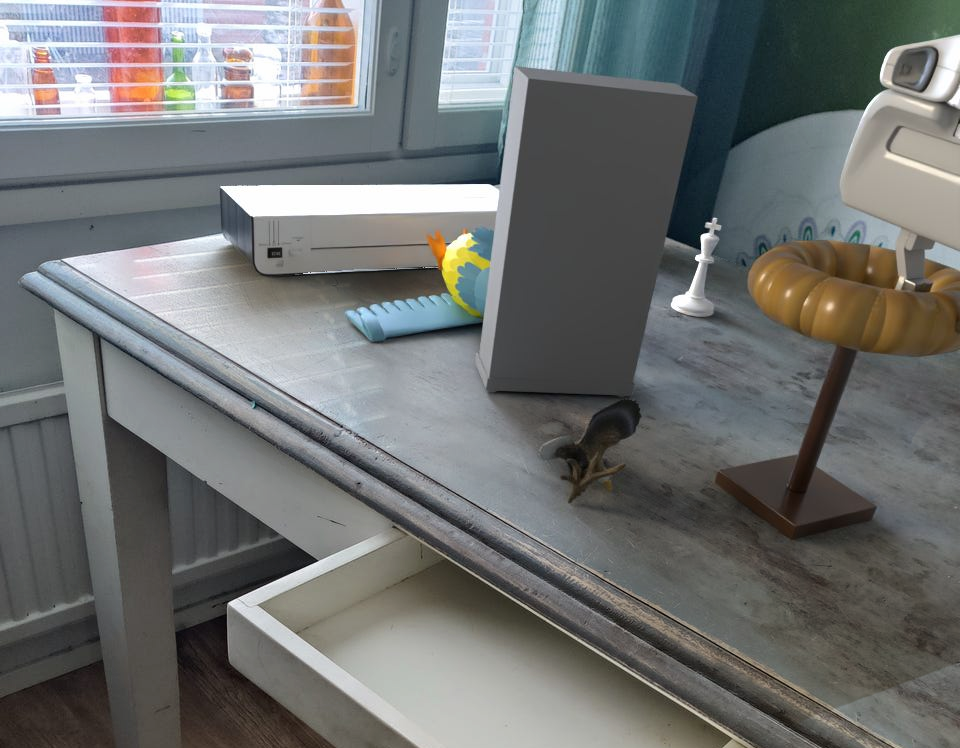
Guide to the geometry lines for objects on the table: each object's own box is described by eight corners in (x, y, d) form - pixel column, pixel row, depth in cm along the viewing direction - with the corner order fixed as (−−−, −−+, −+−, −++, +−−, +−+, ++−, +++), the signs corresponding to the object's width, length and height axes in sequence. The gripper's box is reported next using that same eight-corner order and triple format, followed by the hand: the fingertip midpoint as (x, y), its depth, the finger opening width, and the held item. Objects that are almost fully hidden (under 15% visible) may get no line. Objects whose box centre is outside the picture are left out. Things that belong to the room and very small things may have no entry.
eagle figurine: (646, 507, 73) (659, 437, 79) (609, 431, 69) (625, 362, 75) (554, 531, 77) (573, 462, 83) (514, 460, 73) (536, 392, 79)
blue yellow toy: (560, 204, 109) (648, 252, 99) (547, 282, 114) (628, 334, 105) (329, 215, 95) (406, 272, 86) (326, 304, 100) (398, 366, 91)
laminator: (483, 234, 126) (489, 183, 123) (531, 267, 118) (539, 213, 115) (221, 243, 112) (219, 185, 108) (256, 281, 104) (255, 220, 100)
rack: (793, 466, 84) (855, 288, 75) (872, 519, 78) (950, 333, 69) (713, 482, 80) (769, 296, 71) (791, 539, 74) (863, 345, 65)
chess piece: (709, 320, 111) (734, 228, 105) (667, 310, 112) (689, 218, 106) (716, 307, 115) (740, 218, 109) (675, 297, 116) (697, 208, 110)
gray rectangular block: (613, 371, 96) (674, 81, 81) (631, 398, 91) (700, 97, 76) (474, 365, 93) (510, 63, 78) (485, 393, 88) (526, 78, 73)
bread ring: (849, 282, 79) (866, 230, 77) (1022, 352, 68) (1047, 294, 66) (698, 295, 72) (711, 238, 70) (866, 375, 61) (888, 311, 59)
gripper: (1243, 129, 51) (1106, 380, 60) (931, 51, 64) (856, 266, 73) (1177, 127, 48) (1044, 391, 57) (866, 46, 61) (795, 270, 70)
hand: (936, 320), depth 65 cm, fingers closed on bread ring, 4 cm apart
